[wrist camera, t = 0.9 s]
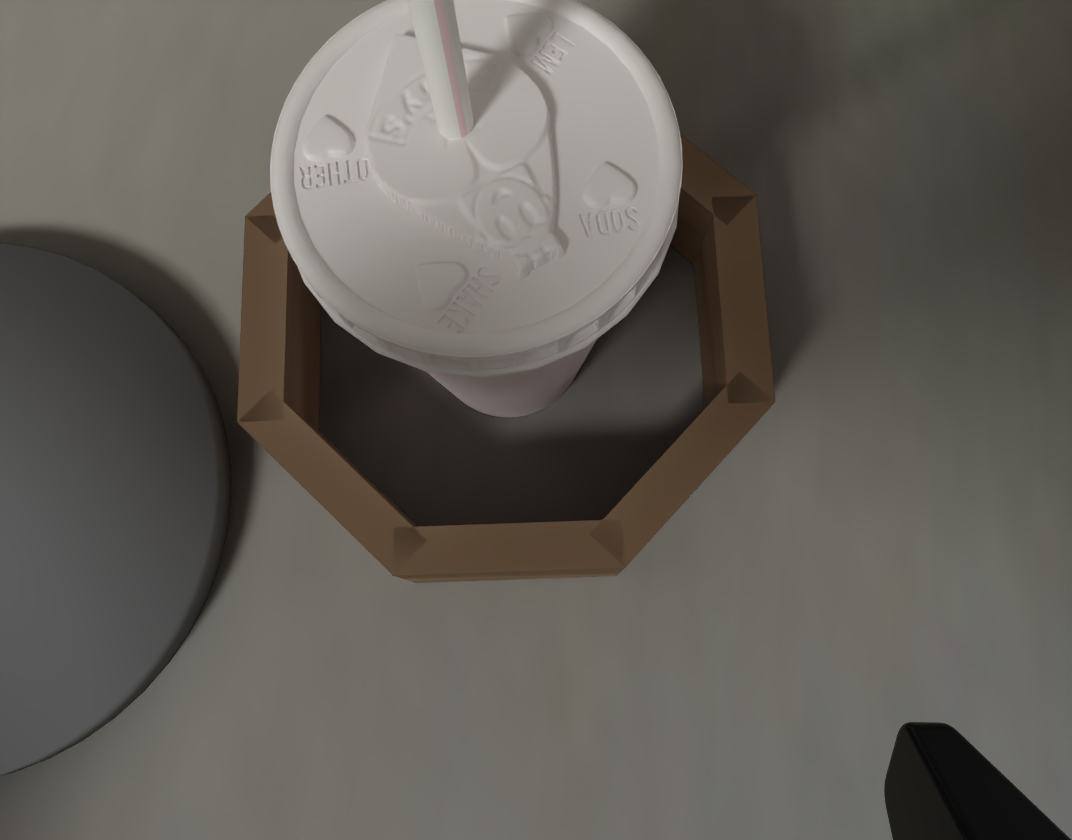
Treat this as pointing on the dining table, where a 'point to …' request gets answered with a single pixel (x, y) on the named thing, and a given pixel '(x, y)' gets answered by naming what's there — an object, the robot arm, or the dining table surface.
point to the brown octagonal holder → (515, 548)
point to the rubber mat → (96, 500)
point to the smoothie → (479, 188)
